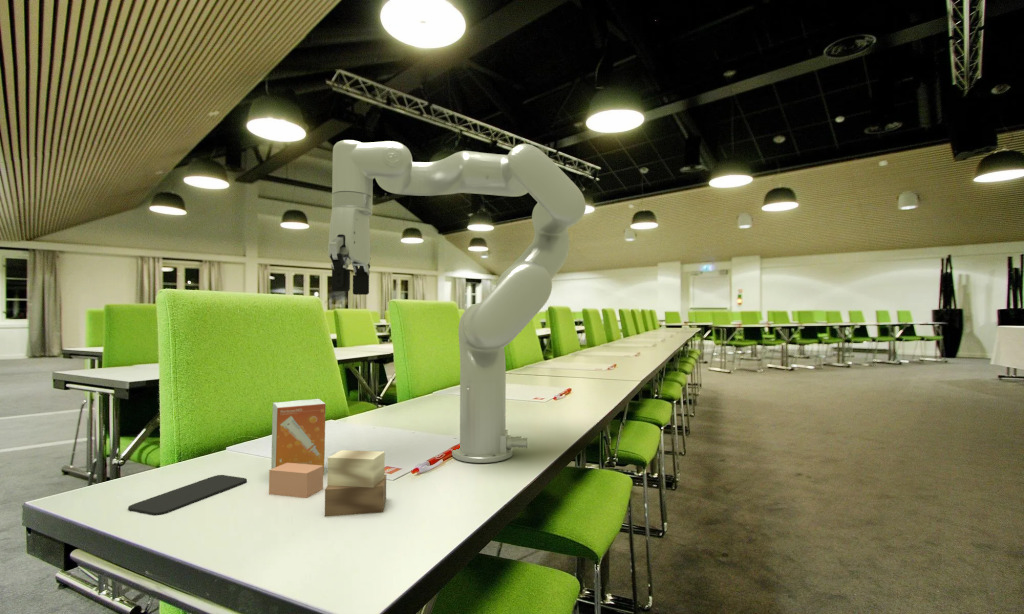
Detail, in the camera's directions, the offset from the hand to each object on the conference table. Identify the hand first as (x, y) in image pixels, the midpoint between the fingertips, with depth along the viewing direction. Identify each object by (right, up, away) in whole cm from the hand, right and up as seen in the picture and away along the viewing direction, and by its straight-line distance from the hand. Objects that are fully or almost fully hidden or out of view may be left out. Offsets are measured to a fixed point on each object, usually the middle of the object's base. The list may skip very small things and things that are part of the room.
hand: (351, 292), depth 89 cm
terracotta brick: (-4, -33, -15) cm, 36 cm away
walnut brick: (+8, -33, -22) cm, 40 cm away
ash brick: (+8, -29, -21) cm, 37 cm away
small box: (-7, -33, -7) cm, 35 cm away
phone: (-20, -33, -16) cm, 42 cm away
